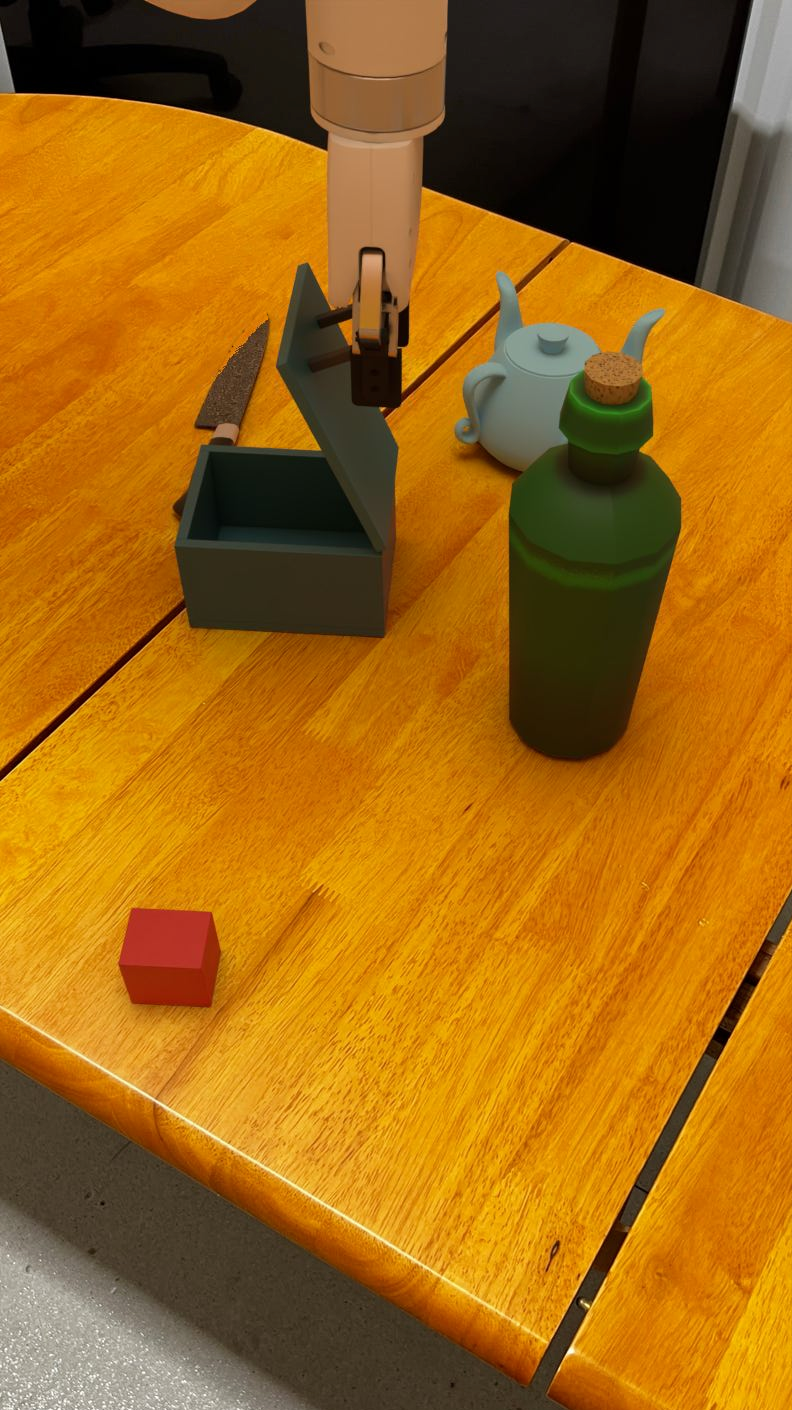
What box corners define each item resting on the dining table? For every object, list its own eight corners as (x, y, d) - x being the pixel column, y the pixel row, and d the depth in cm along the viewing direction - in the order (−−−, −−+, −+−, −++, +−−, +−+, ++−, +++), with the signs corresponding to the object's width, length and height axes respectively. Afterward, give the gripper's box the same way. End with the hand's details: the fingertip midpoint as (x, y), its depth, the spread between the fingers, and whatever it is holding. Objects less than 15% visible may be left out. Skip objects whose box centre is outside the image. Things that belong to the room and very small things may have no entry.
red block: (131, 1003, 79) (117, 964, 75) (143, 947, 81) (131, 907, 78) (211, 1007, 79) (201, 968, 75) (221, 951, 81) (212, 911, 78)
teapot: (431, 463, 111) (432, 354, 103) (496, 368, 119) (502, 261, 111) (595, 510, 108) (609, 401, 100) (650, 410, 116) (667, 302, 108)
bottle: (622, 658, 98) (682, 308, 75) (658, 766, 92) (735, 420, 69) (481, 672, 96) (499, 320, 74) (508, 782, 90) (536, 435, 68)
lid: (274, 366, 80) (358, 339, 79) (297, 265, 87) (374, 238, 85) (376, 552, 92) (451, 532, 90) (389, 450, 99) (459, 429, 97)
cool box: (189, 627, 98) (173, 545, 92) (213, 526, 105) (200, 443, 99) (384, 637, 98) (382, 556, 92) (396, 535, 105) (394, 454, 99)
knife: (240, 317, 124) (236, 304, 123) (282, 316, 124) (279, 302, 123) (157, 531, 105) (152, 517, 104) (207, 530, 104) (203, 516, 103)
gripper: (326, 13, 78) (337, 298, 92) (290, 155, 67) (309, 450, 82) (453, 22, 78) (444, 305, 92) (436, 165, 67) (430, 458, 82)
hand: (381, 371), depth 87 cm, fingers closed on lid, 6 cm apart
